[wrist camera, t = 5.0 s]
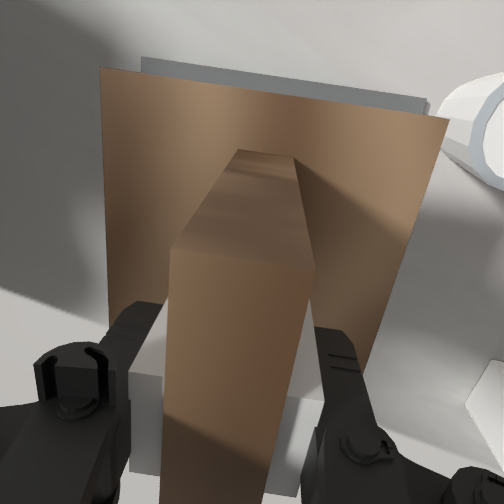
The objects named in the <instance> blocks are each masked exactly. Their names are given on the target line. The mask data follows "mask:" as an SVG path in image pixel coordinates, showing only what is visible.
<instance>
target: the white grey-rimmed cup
mask: <svg viewBox="0 0 504 504" xmlns="http://www.w3.org/2000/svg"><path fill="white" fill-rule="evenodd" d="M436 117H441V118H446V119H450V121H449V124H448V127H447V130H446V133H445V136H444V139H443V142H442V145H441V148H440V149H441V150H442V151H443V153H444V154H445V155H446V156H447V157H449V158H450V159H452V160H453V161H454V162H456V163H457V164H459V165H460V166H462V167H463V168H464V169H466V170H467V171H469V172H470V173H472V174H473V175H474V176H476V177H477V178H479V179H480V180H482V181H483V182H485V183H486V184H487V185H490V186H492V187H495V188H497V189H500V190H502V191H504V72H502V73H498V74H494V75H490V76H486V77H482V78H478V79H475V80H472V81H470V82H468V83H466V84H463V85H461V86H459V87H457V88H456V89H455V90H454V91H453V92H452V93H451V94H450V95H449V96H448V97H447V98H446V99H445V100H444V101H443V103H442V105H441V107H440V109H439V110H438V112H437V114H436Z"/></svg>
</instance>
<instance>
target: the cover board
mask: <svg viewBox="0 0 504 504" xmlns="http://www.w3.org/2000/svg"><path fill="white" fill-rule="evenodd" d="M100 87H101V114H102V141H103V168H104V196H105V223H106V250H107V278H108V305H109V328H110V327H111V326H112V325H113V324H114V321H115V320H116V319H117V317H118V316H119V314H120V313H121V311H122V310H123V309H125V308H127V307H128V306H130V305H131V304H133V303H134V302H136V301H144V302H151V303H157V304H164V303H165V302H166V300H167V298H168V314H167V336H166V359H165V381H164V404H163V427H162V449H161V472H160V496H159V504H261V503H262V498H263V494H264V490H265V486H266V481H267V477H268V473H269V469H270V464H271V460H272V456H273V452H274V447H275V443H276V439H277V434H278V430H279V426H280V422H281V417H282V413H283V409H284V405H285V400H286V396H287V392H288V388H289V383H290V379H291V375H292V371H293V366H294V362H295V358H296V354H297V349H298V345H299V341H300V336H301V332H302V328H303V324H304V319H305V315H306V311H307V307H308V302H309V298H310V304H311V311H312V318H313V325H314V326H317V327H323V328H330V329H336V330H342V331H343V332H344V333H345V334H346V336H347V337H348V338H349V339H350V340H351V342H352V343H353V344H354V348H355V351H356V355H357V358H358V359H357V361H358V362H359V365H360V368H361V374H362V375H363V373H364V370H365V367H366V364H367V361H368V358H369V355H370V352H371V349H372V346H373V344H374V341H375V338H376V335H377V332H378V329H379V326H380V323H381V320H382V317H383V314H384V311H385V308H386V306H387V303H388V300H389V297H390V294H391V291H392V288H393V285H394V282H395V279H396V276H397V273H398V270H399V268H400V265H401V262H402V259H403V256H404V253H405V250H406V247H407V244H408V241H409V238H410V235H411V232H412V230H413V227H414V224H415V221H416V218H417V215H418V212H419V209H420V206H421V203H422V200H423V197H424V194H425V192H426V189H427V186H428V183H429V180H430V177H431V174H432V171H433V168H434V165H435V162H436V159H437V156H438V154H439V151H440V148H441V145H442V142H443V139H444V136H445V133H446V130H447V127H448V124H449V121H450V119H446V118H441V117H435V116H428V115H421V114H415V113H408V112H401V111H394V110H388V109H381V108H374V107H367V106H361V105H354V104H347V103H340V102H334V101H327V100H320V99H313V98H307V97H300V96H293V95H286V94H280V93H273V92H266V91H259V90H253V89H246V88H239V87H232V86H226V85H219V84H212V83H205V82H199V81H192V80H185V79H178V78H172V77H165V76H158V75H151V74H145V73H138V72H131V71H124V70H118V69H110V68H102V67H100Z"/></svg>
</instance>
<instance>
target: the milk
mask: <svg viewBox="0 0 504 504" xmlns="http://www.w3.org/2000/svg"><path fill="white" fill-rule="evenodd" d="M465 407H466V408H467V410H468V412H469V414H470V415H471V417H472V419H473V420H474V422H475V424H476V426H477V427H478V429H479V431H480V433H481V434H482V436H483V438H484V439H485V441H486V443H487V445H488V446H489V448H490V450H491V451H492V453H493V455H494V457H495V458H496V460H497V462H498V464H499V465H500V467H501V469H502V470H503V472H504V362H501V361H497V360H491V361H490V363H489V365H488V366H487V368H486V370H485V371H484V373H483V375H482V376H481V378H480V379H479V381H478V383H477V384H476V386H475V388H474V389H473V391H472V392H471V394H470V396H469V397H468V399H467V401H466V402H465Z"/></svg>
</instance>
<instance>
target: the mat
mask: <svg viewBox="0 0 504 504" xmlns="http://www.w3.org/2000/svg"><path fill="white" fill-rule="evenodd" d="M141 73H145V74H151V75H158V76H165V77H172V78H178V79H185V80H192V81H199V82H205V83H212V84H219V85H226V86H232V87H239V88H246V89H253V90H259V91H266V92H273V93H280V94H286V95H293V96H300V97H307V98H313V99H320V100H327V101H334V102H340V103H347V104H354V105H361V106H367V107H374V108H381V109H388V110H394V111H401V112H408V113H415V114H421V115H422V114H423V110H424V107H425V104H426V101H427V99H426V98H419V97H412V96H405V95H399V94H392V93H385V92H378V91H372V90H365V89H358V88H351V87H344V86H338V85H331V84H324V83H317V82H311V81H304V80H297V79H290V78H283V77H277V76H270V75H263V74H256V73H250V72H243V71H236V70H229V69H222V68H216V67H209V66H202V65H195V64H189V63H182V62H175V61H168V60H161V59H155V58H148V57H142V58H141Z"/></svg>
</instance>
